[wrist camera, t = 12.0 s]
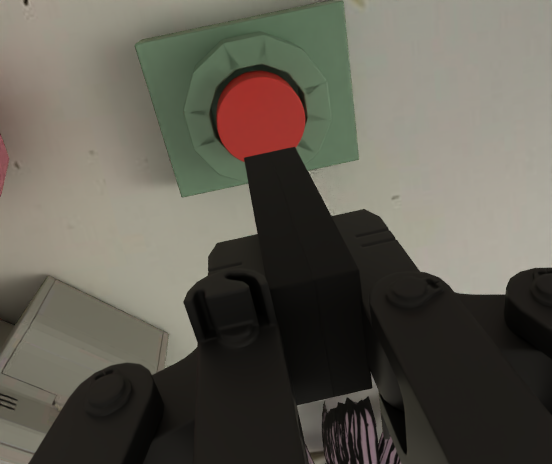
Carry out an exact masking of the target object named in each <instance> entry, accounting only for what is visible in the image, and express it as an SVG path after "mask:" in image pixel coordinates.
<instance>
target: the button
mask: <svg viewBox="0 0 552 464" xmlns="http://www.w3.org/2000/svg"><path fill="white" fill-rule="evenodd" d="M304 128H305V112H304V108H303V105H302V102H301V100H300V98H299V97H298V95H297V94H296V92H295V91H294V90H293V88H292V87H291V86H290V85H289V84H288V83H287V82H286V81H285V80H284V79H283V78H281V77H280V76H278V75H276V74H274V73H271V72H267V71H250V72H246V73H243V74H241V75H239V76H237V77H236V78H234V79H233V80H232V81H230V82H229V83H228V85H227V86H226V87H225V88H224V90H223V91H222V93H221V95H220V98H219V100H218V104H217V130H218V134H219V137H220V139H221V141H222V143H223V145H224V146H225V148H226V149H227V150H228V151H229V152H230V153H231V154H232V155H233V156H234V157H236V158H237V159H239V160H241V161H243V162H244V157H249V156H254V155H258V154H263V153H267V152H272V151H277V150H281V149H286V148H291V147H295V148H296V147H297V145H298V144H299V142H300V140H301V138H302V136H303V133H304Z"/></svg>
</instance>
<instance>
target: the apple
mask: <svg viewBox="0 0 552 464" xmlns="http://www.w3.org/2000/svg"><path fill="white" fill-rule="evenodd" d="M8 162H9V157H8V154H7V150H6V148H5V145H4V142H3V140H2V137H1V134H0V196H1V194H2V190H3V185H4V180H5V176H6V171H7V167H8Z"/></svg>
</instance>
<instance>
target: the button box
mask: <svg viewBox="0 0 552 464" xmlns="http://www.w3.org/2000/svg"><path fill="white" fill-rule="evenodd" d="M135 48H136V52H137V55H138V58H139V61H140V64H141V68H142V71H143V74H144V77H145V81H146V84H147V87H148V90H149V93H150V97H151V100H152V103H153V106H154V110H155V113H156V116H157V119H158V122H159V126H160V129H161V132H162V135H163V139H164V142H165V145H166V148H167V151H168V155H169V158H170V161H171V164H172V168H173V171H174V174H175V177H176V180H177V184H178V187H179V190H180V193H181V197H187V196H192V195H196V194H201V193H206V192H210V191H215V190H220V189H224V188H229V187H234V186H238V185H243V184H248V178H247V173H246V167H245V162H243V161H241V160H239V159H237V158H236V157H234V156H233V155H232V154H231V153H230V152H229V151H228V150H227V149H226V148H225V146H224V145H223V143H222V141H221V139H220V137H219V134H218V130H217V104H218V100H219V98H220V95H221V93H222V91H223V90H224V88H225V87H226V86H227V85H228V83H229V82H230V81H232V80H233V79H234V78H236V77H237V76H239V75H241V74H243V73H246V72H250V71H267V72H271V73H274V74H276V75H278V76H280V77H281V78H283V79H284V80H285V81H286V82H287V83H288V84H289V85H290V86H291V87H292V88H293V90H294V91H295V92H296V94H297V95H298V97H299V98H300V100H301V102H302V105H303V108H304V112H305V128H304V133H303V136H302V138H301V140H300V142H299V144H298V145H297V147H296V149H297V151H298V153H299V155H300V157H301V159H302V161H303V163H304V165H305V167H306V169H307V171H308V170H313V169H318V168H322V167H327V166H332V165H336V164H341V163H346V162H350V161H355V160H359V155H358V145H357V135H356V125H355V114H354V104H353V94H352V84H351V74H350V63H349V53H348V43H347V33H346V23H345V13H344V2H343V1H339V0H329V1H324V2H319V3H314V4H309V5H305V6H300V7H295V8H290V9H286V10H281V11H276V12H271V13H266V14H262V15H257V16H252V17H247V18H242V19H238V20H233V21H228V22H223V23H219V24H214V25H209V26H204V27H199V28H195V29H190V30H185V31H180V32H176V33H171V34H166V35H161V36H156V37H152V38H147V39H142V40H141V41H139V42H138V43H136V44H135Z"/></svg>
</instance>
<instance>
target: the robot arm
mask: <svg viewBox="0 0 552 464" xmlns="http://www.w3.org/2000/svg"><path fill="white" fill-rule="evenodd" d="M244 162H245V167H246V173H247V178H248V184H249V189H250V194H251V200H252V205H253V211H254V216H255V222H256V227H257V233H258V234H256V235H252V236H247V237H243V238H238V239H234V240H229V241H224V242H220V243H217V244H216V246H215V247H214V249H213V250H212V252H211V253H210V255H209V256H208V271H209V272H208V276H207V277H205V278H203V279H202V280H200V281H198V282H197V283H196V284H195V285H194V286H193V287H192V288H191V289H190V290H189V291H188V292H187V295H186V297H185V300H184V305H185V308H186V311H187V313H188V316H189V319H190V322H191V325H192V328H193V331H194V333H195V336H196V339H197V342H198V347H197V348H196V349H195V350H194V351H193V352H192V353H190V354H189V355H188V356H187V357H186V358H184V359H182V360H181V361H179V362H177V363H175V364H174V365H172V366H169V367H167V368H165V369H163V370H161V371H159V372H157V373H155V374H153V375H152V374H151V372H150V370H149V369H147V368H146V367H144V366H143V365H141V364H137V363H128V362H126V363H121V364H116V365H111V366H109V367H106V368H104V369H102V370H100V371H98V372H96V373H94V374H93V375H91V376H90V377H89V378H87V379H86V380H85V381H83V382H82V383H81V384H80V385H79V386H78V387H77V388H76V390H75V391H74V392H73V393H72V394H71V396H70V397H69V398H68V400H67V402H66V403H65V405H64V406H63V408H62V410H61V411H60V413H59V415H58V416H57V418H56V419H55V421H54V423H53V424H52V426H51V428H50V429H49V431H48V432H47V434H46V436H45V437H44V439H43V441H42V442H41V444H40V445H39V447H38V449H37V450H36V452H35V454H34V455H33V457H32V458H31V460H30V462H29V463H28V464H309V460H308V455H307V451H306V446H305V441H304V436H303V431H302V427H301V423H300V418H299V414H298V409H297V405H301V404H305V403H310V402H314V401H318V400H323V399H327V398H331V397H336V396H340V395H345V394H349V393H353V392H358V391H362V390H367V389H371V388H372V379H371V373H372V376H373V378H374V380H375V383H376V385H377V388H378V390H379V400H380V410H381V420H382V429H383V436H384V440H387V439H390V436H391V438H392V441H393V443H394V446H395V448H396V451H397V453H398V456H399V459H400V461H401V464H552V268H533V269H530V270H526V271H522V272H519V273H518V274H516V275H515V276H513V277H512V278H510V280H509V282H508V285H507V287H506V295H471V294H460V293H455V292H454V291H453V290H452V289H451V288H450V286H449V285H448V284H446V283H445V282H444V281H443V280H442V279H440V278H439V277H436V276H434V275H431V274H428V273H425V272H420V271H419V270H418V268H417V267H416V265H415V264H414V263H413V261H412V260H411V259H410V257H409V256H408V255H407V253H406V252H405V250H404V249H403V248H402V246H401V245H400V244H399V242H398V241H397V240H395V237H394V235H393V234H392V233H391V231H389V230H388V227H387V226H386V224H385V223H384V222H383V220H382V219H381V218H380V217H379V216H377V215H375V214H373V213H371V212H369V211H367V210H365V209H363V210H358V211H354V212H349V213H345V214H340V215H335V216H331V215H330V213H329V211H328V209H327V207H326V205H325V203H324V201H323V199H322V197H321V196H320V194H319V192H318V190H317V188H316V186H315V184H314V182H313V180H312V178H311V176H310V174H309V173H308V171H307V169H306V167H305V165H304V163H303V161H302V159H301V157H300V155H299V153H298V151H297V149H296V148H295V147H291V148H286V149H281V150H277V151H272V152H267V153H263V154H258V155H254V156H249V157H244Z"/></svg>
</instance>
